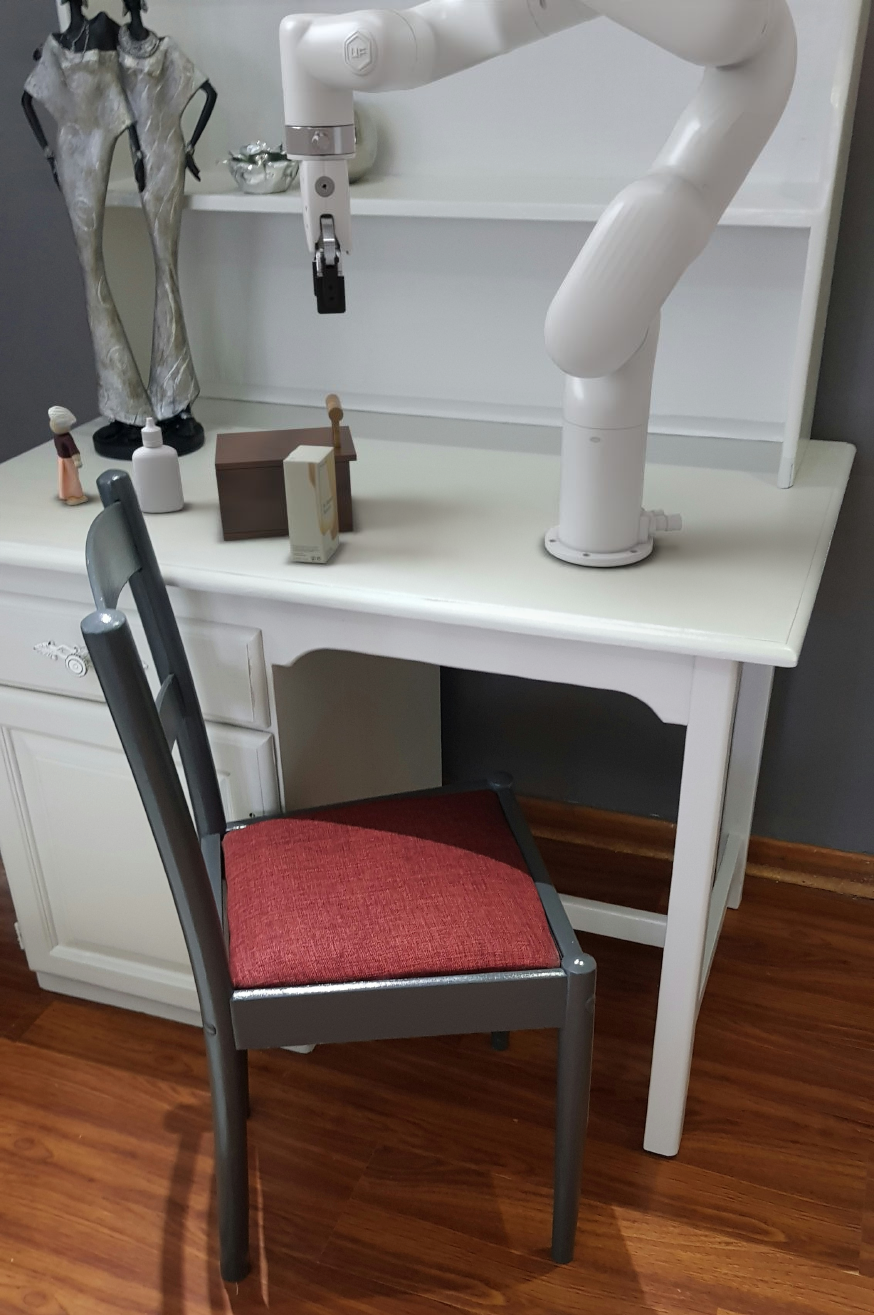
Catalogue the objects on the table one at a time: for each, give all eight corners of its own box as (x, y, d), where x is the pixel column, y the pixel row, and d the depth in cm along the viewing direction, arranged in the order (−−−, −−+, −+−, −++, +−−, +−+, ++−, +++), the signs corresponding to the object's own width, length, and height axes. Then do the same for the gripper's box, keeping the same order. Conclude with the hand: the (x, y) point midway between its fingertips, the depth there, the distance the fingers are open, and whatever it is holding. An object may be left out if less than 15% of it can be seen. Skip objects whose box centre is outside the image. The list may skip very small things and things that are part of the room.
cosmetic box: (326, 565, 128) (318, 463, 122) (290, 562, 129) (281, 461, 123) (341, 543, 133) (335, 445, 128) (306, 541, 134) (299, 443, 128)
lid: (349, 431, 143) (346, 386, 140) (357, 460, 133) (354, 413, 130) (217, 439, 141) (212, 394, 138) (215, 470, 131) (209, 422, 128)
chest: (346, 498, 147) (342, 432, 143) (353, 531, 137) (349, 461, 133) (225, 506, 145) (217, 440, 141) (223, 540, 135) (215, 470, 131)
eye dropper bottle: (154, 500, 148) (141, 411, 142) (190, 505, 146) (178, 415, 140) (134, 511, 144) (120, 421, 138) (170, 517, 142) (157, 425, 136)
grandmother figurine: (46, 497, 149) (28, 404, 143) (72, 490, 152) (55, 398, 146) (77, 511, 145) (60, 415, 138) (103, 503, 147) (87, 408, 141)
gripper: (361, 149, 114) (367, 319, 123) (349, 137, 129) (356, 289, 138) (287, 150, 114) (299, 321, 122) (285, 138, 129) (295, 291, 137)
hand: (329, 304), depth 130 cm, fingers open, 9 cm apart
